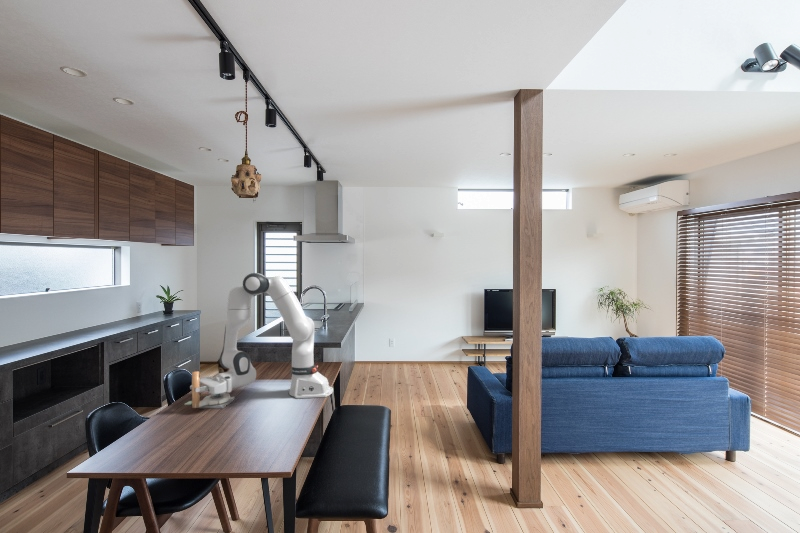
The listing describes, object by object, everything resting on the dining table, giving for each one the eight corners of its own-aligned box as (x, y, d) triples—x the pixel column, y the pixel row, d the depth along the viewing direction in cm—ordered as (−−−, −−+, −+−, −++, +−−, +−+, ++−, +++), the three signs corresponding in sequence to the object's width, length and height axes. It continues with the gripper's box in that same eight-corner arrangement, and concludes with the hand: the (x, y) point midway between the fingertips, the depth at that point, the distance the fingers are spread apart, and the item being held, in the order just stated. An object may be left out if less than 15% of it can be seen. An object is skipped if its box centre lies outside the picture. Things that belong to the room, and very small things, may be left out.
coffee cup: (219, 383, 218) (219, 360, 218) (215, 380, 225) (214, 358, 225) (235, 380, 224) (235, 358, 224) (230, 377, 230) (230, 355, 230)
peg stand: (221, 395, 194) (221, 363, 194) (233, 399, 188) (233, 366, 188) (186, 405, 180) (186, 371, 180) (198, 410, 174) (198, 374, 174)
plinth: (235, 399, 192) (234, 391, 192) (222, 408, 180) (222, 399, 180) (211, 399, 193) (211, 391, 193) (197, 408, 181) (197, 399, 181)
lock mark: (195, 401, 189) (195, 401, 189) (190, 404, 185) (190, 404, 185) (189, 401, 189) (189, 401, 189) (184, 404, 185) (184, 403, 185)
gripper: (213, 371, 195) (184, 378, 185) (232, 379, 182) (201, 386, 171) (213, 384, 195) (184, 391, 185) (232, 392, 182) (201, 400, 171)
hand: (192, 389), depth 178 cm, fingers open, 4 cm apart
